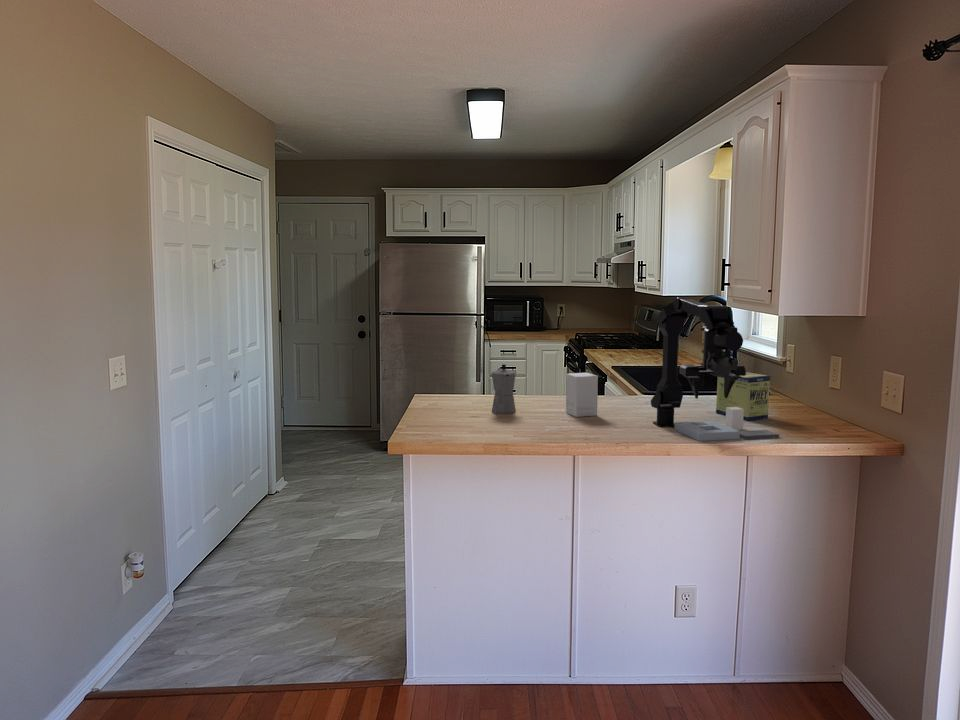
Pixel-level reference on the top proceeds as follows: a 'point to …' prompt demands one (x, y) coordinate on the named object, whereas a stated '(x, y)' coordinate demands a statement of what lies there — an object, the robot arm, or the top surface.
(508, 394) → the coffeepot
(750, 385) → the protein box
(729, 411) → the charger
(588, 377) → the supplement box
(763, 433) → the phone
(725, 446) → the top surface
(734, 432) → the plate
